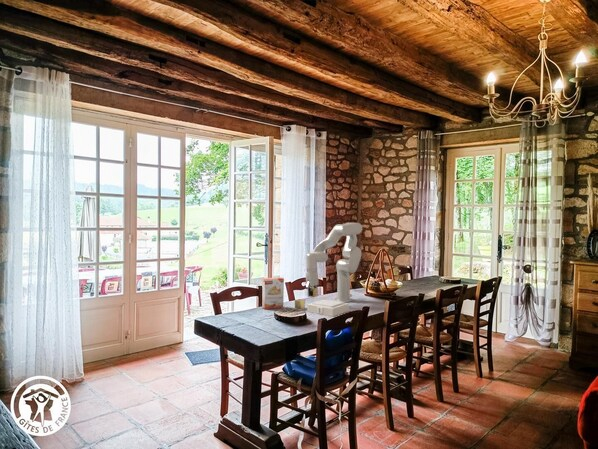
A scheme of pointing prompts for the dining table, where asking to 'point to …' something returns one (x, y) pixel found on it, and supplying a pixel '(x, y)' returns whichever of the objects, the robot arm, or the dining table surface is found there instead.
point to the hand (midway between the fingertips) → (312, 294)
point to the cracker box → (272, 293)
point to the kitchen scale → (328, 307)
